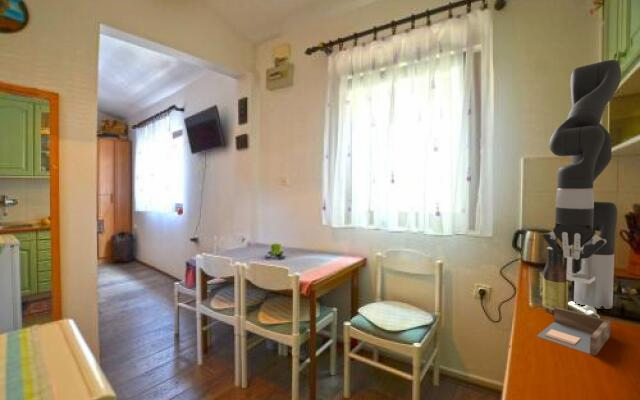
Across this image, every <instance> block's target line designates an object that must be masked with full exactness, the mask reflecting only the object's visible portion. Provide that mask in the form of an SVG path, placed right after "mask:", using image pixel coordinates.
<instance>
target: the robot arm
mask: <svg viewBox="0 0 640 400" xmlns="http://www.w3.org/2000/svg"><path fill="white" fill-rule="evenodd" d="M570 75H571V76H570V97H571V109H570V111H569V113H568V115H567V117H566V119H565V120H564V122H562V123H561V124H560V125H559V126H558V127H557V128H556V129H555V130H554V132H553V133H552V135H551V137H550V139H549V149H550V151H551V153H552V154H553V155H555V156H557V157H571V160H572V163H571V164H568V165H562V166H561V167H559V168H558V171H557V189H556V195H555V203H554V205H555V221H554V222H555V224H554V226H553V228H552V231H550V232H547V233H545V234H543V235H542V237H543V239H544V241H546V243H547V244H548V245H549V247H551V248H552V249H553V250H554V252H555V253H556V254H559V255H562V256H563V265H564V269H565V270H567V256H569V255H572V254H574V273H575V274H576V273H580V274H585V275H591V276H595V281H593V282H591V283H590V284H587V283H582V282H577V281H574V284H573V285H574V286H573V287H574V288H573V302H574V303H575V302H576V304H580V305H579V306H581V305H590V306H592V307H596V308H600V307H601V306H603V307H604V308H605V309H610V308H612V309H613V301H614V300H613V298H614V276H615V275H614V272H615V266H614V265H615V248H616V247H615V244H616V243H615V242H616V230H617V222H618V208H617V205H616V204H615V203H613V202H611V201H610V202H609V201H595V195H594V182H595V181H596V179H597V178H598V177H599V176H600V175H601V174H602V173H603V172H604V170H606V168H607V167H608V165H609V163H610V162H611V160H612V152H613V151H612V149H613V147H612V142H613V141H612V136H611V134H610V132H609V131H608V130H607V129H606V127H605V126H604V125H602V123H601V120H602V118H603V114H604V111H605V109H606V107H607V106H608V103H610V101H611V99H612V97H613V96H614V94H616V92H617V90H618V88H619V86H620V83H621V77H622V69H621V64H620V63H619V61H618V60H616V59H610V60H609V59H608V60H604V61H599V62H596V63H595V62H594V63H591V64H586V65H582V66H579V67H576V68H575V69H573V71H572V73H571V74H570ZM596 232H600V234H599V235H597V233H596ZM556 238H557V239H558V240H559V241H560V242H561V243H562V247H561V245H560V244H559V243H558V241H557V240H556ZM562 248H563V249H562Z"/></svg>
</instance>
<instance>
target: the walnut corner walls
mask: <svg viewBox="0 0 640 400" xmlns="http://www.w3.org/2000/svg"><path fill="white" fill-rule="evenodd" d="M553 322H557V323H560V324H564V325H567V326H571V327H574V328H577V329H581V330H584V331H588V332H591V333H593V334H592V336H591V337H590V354H589V355H592V356H595V357H596V356H597V355H598V354H599V352H600V351H601V350H602V348H603V347H604V345H605V344H606V343H607V341H608V340H609V338H611V323H612V321H611V320H607V319H603V318H601V317H600V318H597V317H593V316H589V315H585V314H581V313H577V312H573V311H570V310H566V309H562V308H558V307H555V308H554V314H553Z"/></svg>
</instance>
